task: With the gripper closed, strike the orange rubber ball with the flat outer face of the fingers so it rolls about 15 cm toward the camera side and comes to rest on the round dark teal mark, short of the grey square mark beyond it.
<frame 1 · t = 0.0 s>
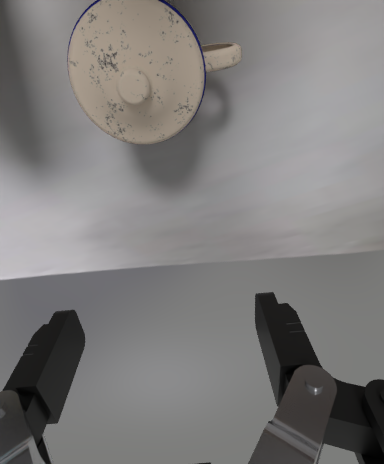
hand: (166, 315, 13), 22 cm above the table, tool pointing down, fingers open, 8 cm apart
teacup with lid: (164, 56, 27), on the table
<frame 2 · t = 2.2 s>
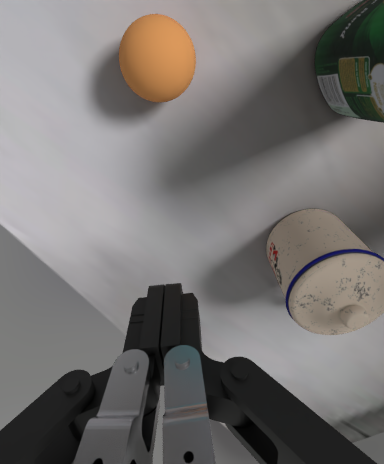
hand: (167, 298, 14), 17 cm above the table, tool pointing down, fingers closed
ball: (157, 61, 22), on the table
coffee jar: (369, 52, 24), on the table
teacup with lid: (309, 250, 34), on the table
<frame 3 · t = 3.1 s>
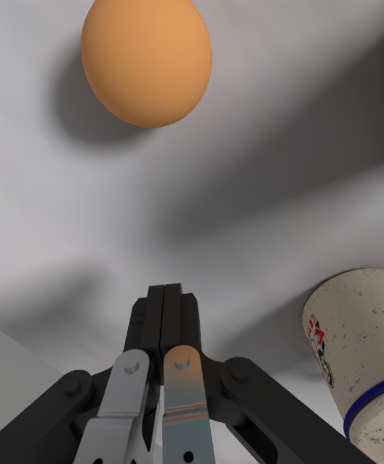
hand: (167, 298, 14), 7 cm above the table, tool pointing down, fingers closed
ball: (148, 60, 13), on the table
teacup with lid: (359, 317, 25), on the table
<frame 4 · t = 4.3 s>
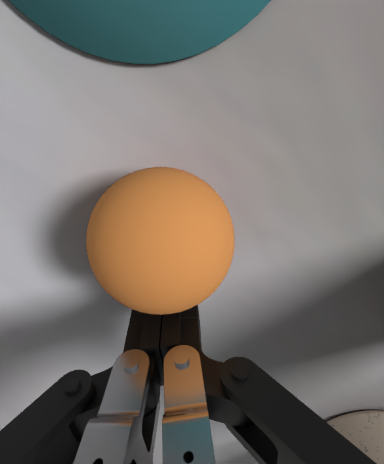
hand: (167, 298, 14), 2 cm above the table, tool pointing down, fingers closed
ball: (162, 240, 11), on the table
teacup with lid: (361, 441, 25), on the table
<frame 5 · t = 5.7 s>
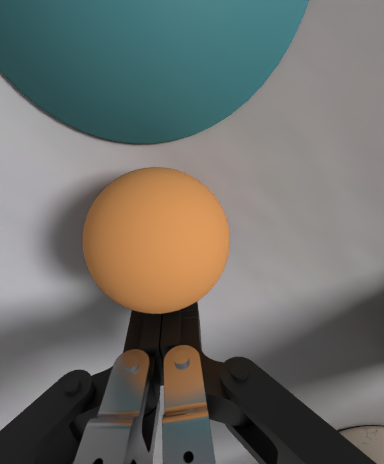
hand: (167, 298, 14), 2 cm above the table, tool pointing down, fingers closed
ball: (158, 240, 11), on the table, touching gripper
teacup with lid: (361, 453, 27), on the table
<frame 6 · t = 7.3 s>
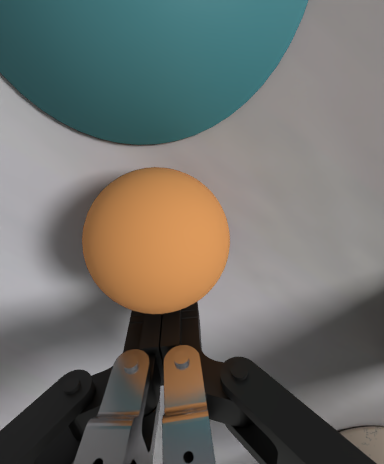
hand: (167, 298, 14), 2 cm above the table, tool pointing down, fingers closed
ball: (158, 240, 11), on the table, touching gripper
teacup with lid: (361, 454, 27), on the table
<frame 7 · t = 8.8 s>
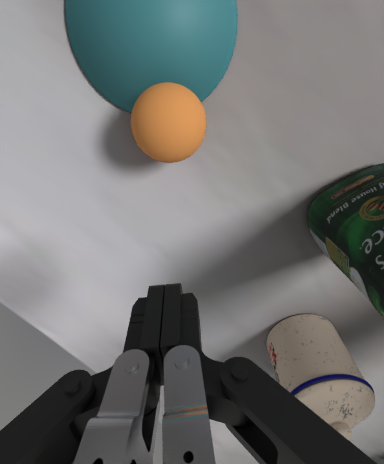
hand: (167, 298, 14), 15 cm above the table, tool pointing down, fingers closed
ball: (168, 124, 22), on the table
coffee jar: (352, 206, 29), on the table
teal mark: (152, 27, 21), on the table
teacup with lid: (304, 342, 38), on the table
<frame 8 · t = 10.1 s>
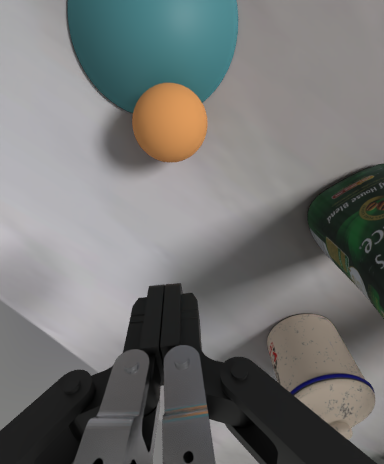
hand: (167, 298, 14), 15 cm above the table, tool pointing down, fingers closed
ball: (170, 124, 22), on the table
coffee jar: (353, 206, 29), on the table
teal mark: (154, 29, 21), on the table
teacup with lid: (304, 341, 38), on the table
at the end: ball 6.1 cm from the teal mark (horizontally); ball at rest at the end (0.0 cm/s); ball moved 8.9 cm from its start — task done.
